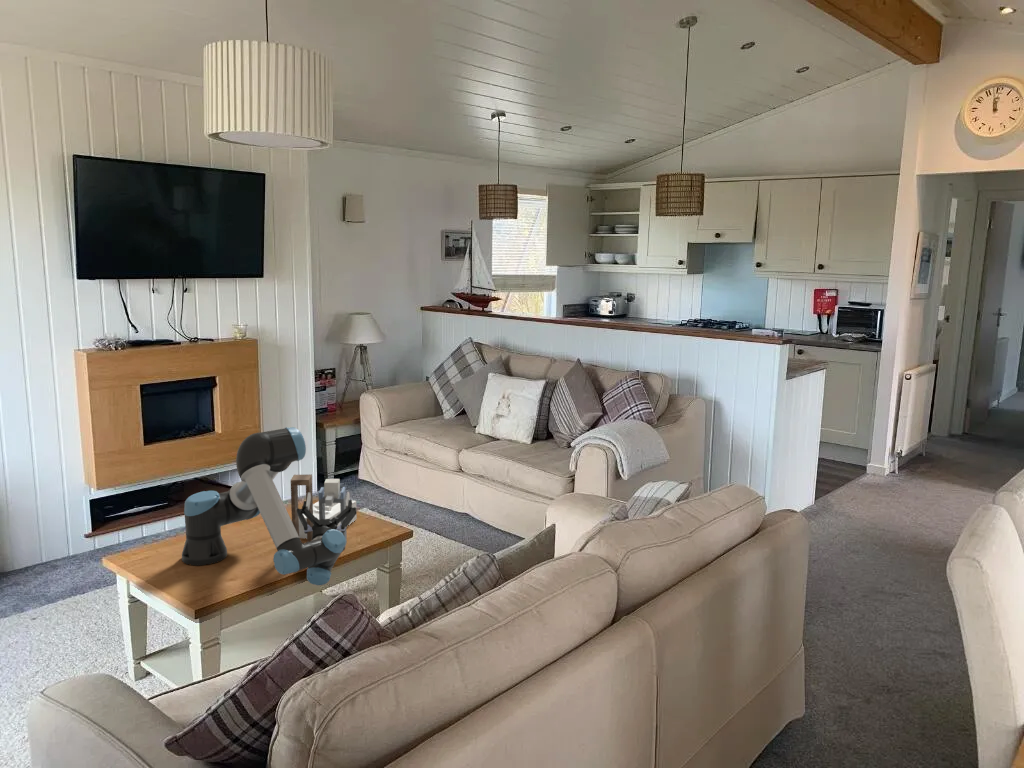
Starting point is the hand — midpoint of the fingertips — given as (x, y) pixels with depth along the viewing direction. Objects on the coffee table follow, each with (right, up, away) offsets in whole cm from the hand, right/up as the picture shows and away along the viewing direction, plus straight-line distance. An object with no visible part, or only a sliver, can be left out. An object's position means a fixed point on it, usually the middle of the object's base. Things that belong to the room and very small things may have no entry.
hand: (329, 494), depth 274 cm
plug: (-1, -3, +8) cm, 9 cm away
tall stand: (-12, -22, +11) cm, 28 cm away
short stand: (-2, -22, +16) cm, 27 cm away
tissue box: (-10, -19, +35) cm, 41 cm away
